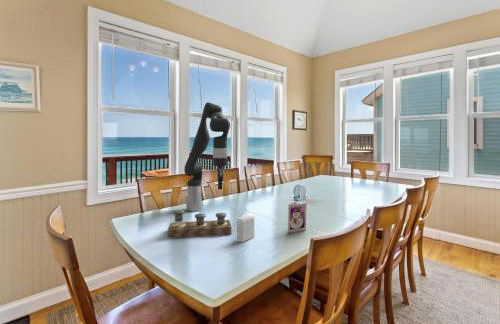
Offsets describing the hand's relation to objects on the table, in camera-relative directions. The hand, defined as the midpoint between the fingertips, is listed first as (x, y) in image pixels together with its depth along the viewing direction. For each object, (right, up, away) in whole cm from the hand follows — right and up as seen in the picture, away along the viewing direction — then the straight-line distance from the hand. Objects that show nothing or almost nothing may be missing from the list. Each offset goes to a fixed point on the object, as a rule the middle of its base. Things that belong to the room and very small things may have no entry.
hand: (220, 189), depth 141 cm
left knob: (-21, -16, -2) cm, 27 cm away
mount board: (-11, -23, 0) cm, 25 cm away
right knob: (0, -19, +2) cm, 19 cm away
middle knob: (-11, -19, 0) cm, 21 cm away
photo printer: (+14, -24, -9) cm, 29 cm away
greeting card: (+40, -23, +5) cm, 47 cm away
